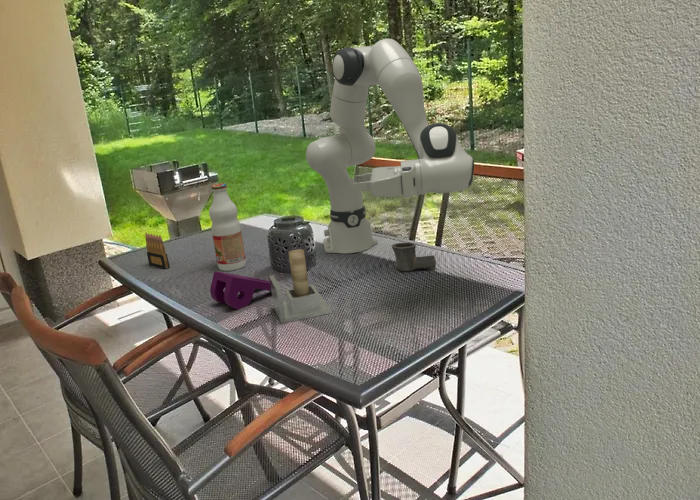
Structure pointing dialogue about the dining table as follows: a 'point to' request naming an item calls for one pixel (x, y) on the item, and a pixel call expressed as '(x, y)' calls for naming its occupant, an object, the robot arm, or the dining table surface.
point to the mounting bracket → (235, 289)
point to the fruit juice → (226, 230)
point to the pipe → (411, 258)
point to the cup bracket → (297, 303)
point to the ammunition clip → (156, 251)
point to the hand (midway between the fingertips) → (353, 182)
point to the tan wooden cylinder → (299, 273)
